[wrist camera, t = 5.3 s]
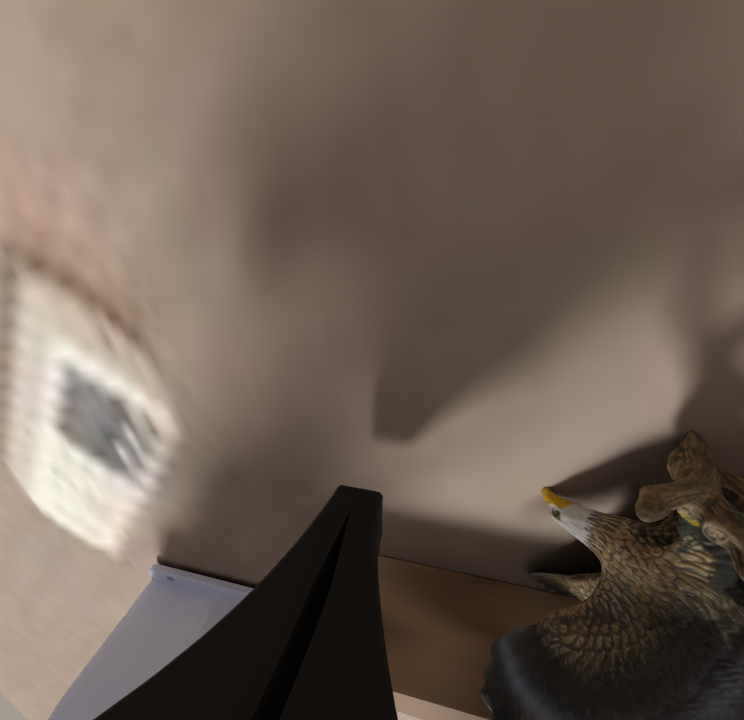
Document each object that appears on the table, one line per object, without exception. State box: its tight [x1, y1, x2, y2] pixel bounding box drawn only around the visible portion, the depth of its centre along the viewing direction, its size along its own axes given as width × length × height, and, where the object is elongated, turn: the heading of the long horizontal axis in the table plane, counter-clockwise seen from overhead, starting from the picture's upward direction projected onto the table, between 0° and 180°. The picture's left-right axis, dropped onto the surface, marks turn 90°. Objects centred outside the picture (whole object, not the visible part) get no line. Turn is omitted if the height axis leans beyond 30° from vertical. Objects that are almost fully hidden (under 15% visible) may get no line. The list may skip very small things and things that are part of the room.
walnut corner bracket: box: [378, 556, 582, 720], centre depth 10 cm, size 15×16×4 cm
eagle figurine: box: [481, 432, 744, 720], centre depth 9 cm, size 8×7×9 cm
